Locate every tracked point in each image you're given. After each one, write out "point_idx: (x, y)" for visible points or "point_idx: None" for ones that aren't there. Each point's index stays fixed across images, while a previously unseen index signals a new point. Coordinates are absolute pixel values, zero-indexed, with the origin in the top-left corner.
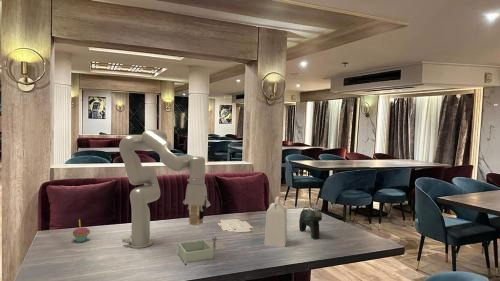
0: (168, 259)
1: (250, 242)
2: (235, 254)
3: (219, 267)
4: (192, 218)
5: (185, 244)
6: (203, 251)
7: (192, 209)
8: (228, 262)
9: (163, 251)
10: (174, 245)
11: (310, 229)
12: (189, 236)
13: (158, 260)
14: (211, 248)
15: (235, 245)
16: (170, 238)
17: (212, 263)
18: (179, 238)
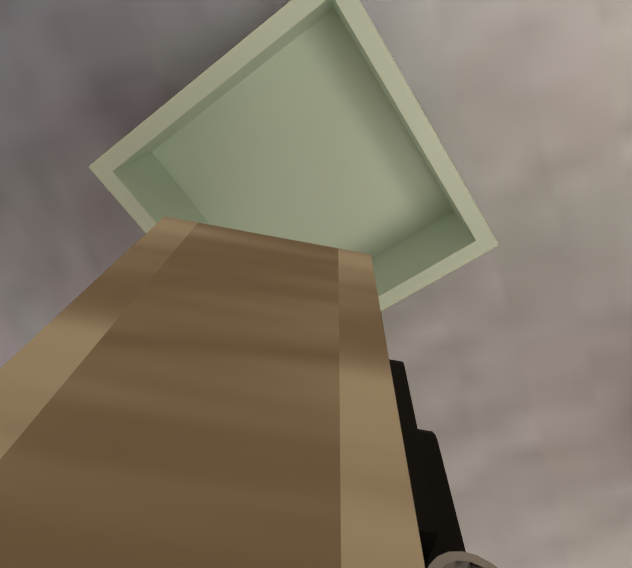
0: (529, 92)
1: None
2: (31, 302)
3: (31, 16)
4: (288, 302)
5: (420, 263)
6: (174, 99)
7: (253, 506)
8: (10, 142)
9: (608, 254)
10: (538, 379)
11: None
12: (463, 534)
13: (621, 47)
14: (113, 172)
15: None
16: (596, 488)
17: (123, 91)
18: (527, 496)
